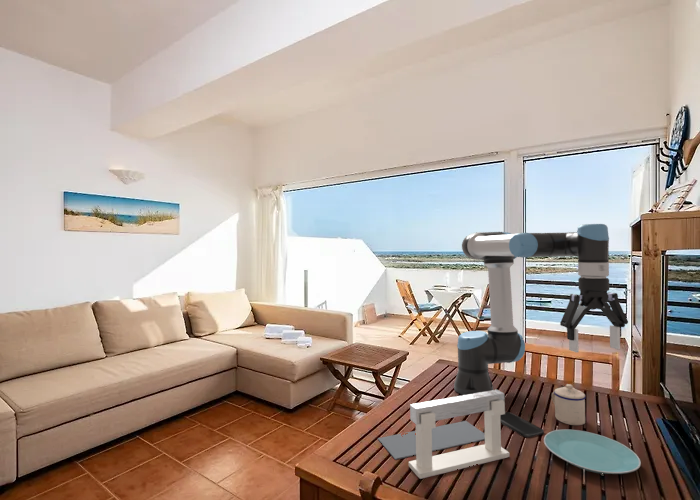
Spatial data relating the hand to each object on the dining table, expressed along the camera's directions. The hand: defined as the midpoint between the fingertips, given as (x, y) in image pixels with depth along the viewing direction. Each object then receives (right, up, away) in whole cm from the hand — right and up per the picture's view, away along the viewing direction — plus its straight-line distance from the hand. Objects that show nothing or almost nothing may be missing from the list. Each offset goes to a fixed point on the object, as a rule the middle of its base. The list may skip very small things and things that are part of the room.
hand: (594, 349), depth 108 cm
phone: (-17, -29, +13) cm, 35 cm away
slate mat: (-46, -28, +5) cm, 54 cm away
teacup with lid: (+2, -28, +17) cm, 33 cm away
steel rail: (-42, -15, -8) cm, 45 cm away
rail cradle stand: (-42, -28, -8) cm, 51 cm away
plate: (-6, -28, -7) cm, 29 cm away
